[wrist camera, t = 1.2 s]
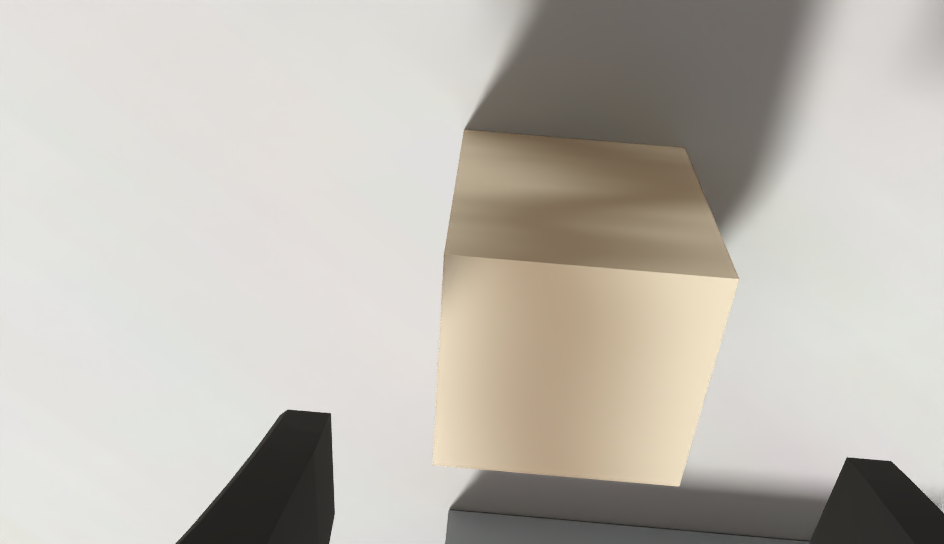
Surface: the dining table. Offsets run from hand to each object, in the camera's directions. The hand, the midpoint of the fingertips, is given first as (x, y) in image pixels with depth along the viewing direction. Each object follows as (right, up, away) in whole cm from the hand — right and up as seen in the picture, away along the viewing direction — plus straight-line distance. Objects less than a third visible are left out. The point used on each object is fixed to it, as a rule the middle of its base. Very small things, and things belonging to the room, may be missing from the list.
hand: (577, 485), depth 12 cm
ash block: (0, +4, +6) cm, 7 cm away
